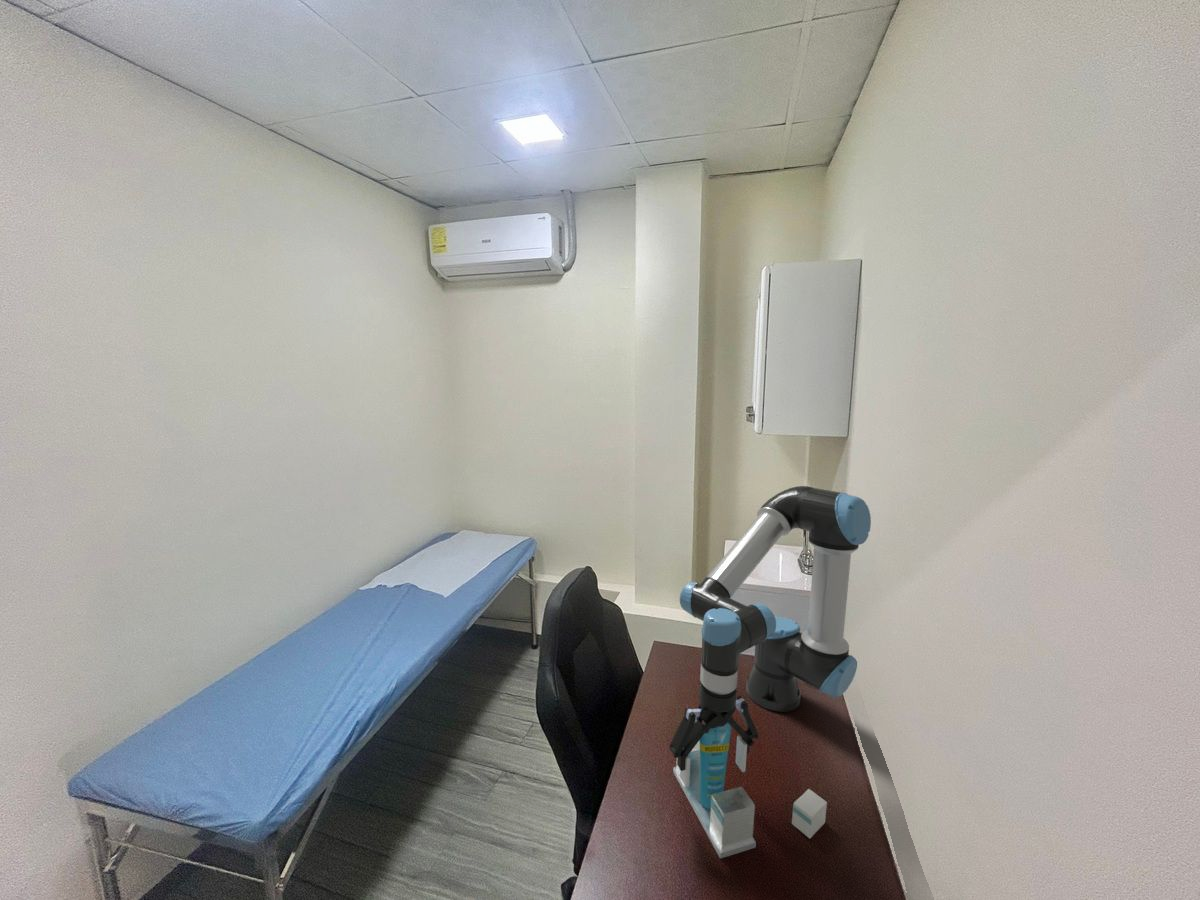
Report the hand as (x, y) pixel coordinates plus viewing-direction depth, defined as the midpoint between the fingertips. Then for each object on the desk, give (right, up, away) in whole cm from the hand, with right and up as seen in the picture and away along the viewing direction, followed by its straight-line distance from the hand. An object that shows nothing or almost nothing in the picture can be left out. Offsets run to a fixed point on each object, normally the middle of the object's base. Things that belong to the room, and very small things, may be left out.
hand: (712, 774), depth 99 cm
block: (+20, -9, -2) cm, 22 cm away
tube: (0, -7, +1) cm, 7 cm away
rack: (0, -8, +1) cm, 8 cm away
